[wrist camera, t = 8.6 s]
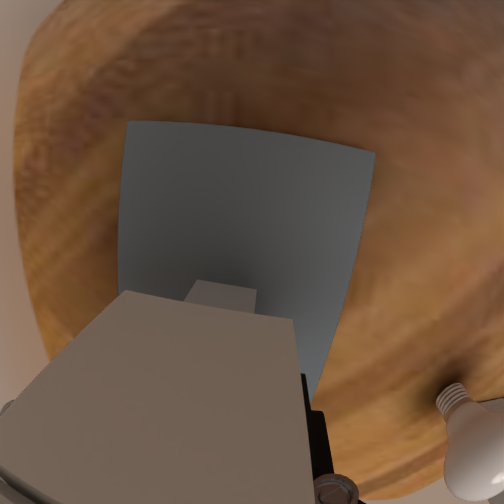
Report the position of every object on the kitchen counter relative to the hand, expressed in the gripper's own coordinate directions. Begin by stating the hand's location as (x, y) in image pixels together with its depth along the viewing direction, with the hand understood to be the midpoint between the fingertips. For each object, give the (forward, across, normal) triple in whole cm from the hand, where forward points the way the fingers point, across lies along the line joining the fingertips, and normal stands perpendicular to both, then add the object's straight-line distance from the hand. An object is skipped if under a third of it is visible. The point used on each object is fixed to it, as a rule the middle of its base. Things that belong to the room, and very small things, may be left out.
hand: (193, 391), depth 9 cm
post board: (+8, 0, 0) cm, 8 cm away
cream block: (+1, 0, 0) cm, 1 cm away
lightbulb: (+8, -18, +6) cm, 21 cm away
